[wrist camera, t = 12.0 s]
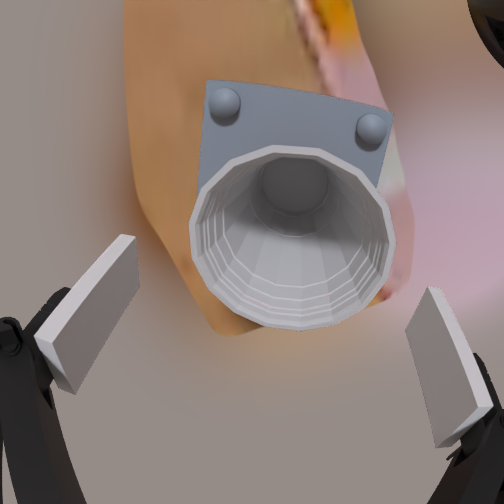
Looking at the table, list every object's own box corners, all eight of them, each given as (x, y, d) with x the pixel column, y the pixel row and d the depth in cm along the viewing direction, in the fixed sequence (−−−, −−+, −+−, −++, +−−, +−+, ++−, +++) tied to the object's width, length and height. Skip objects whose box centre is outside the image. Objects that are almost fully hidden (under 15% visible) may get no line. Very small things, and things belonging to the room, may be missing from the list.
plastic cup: (240, 103, 24) (198, 123, 13) (372, 137, 24) (428, 185, 13) (217, 223, 29) (176, 310, 19) (334, 251, 29) (350, 348, 19)
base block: (378, 107, 27) (397, 114, 22) (344, 245, 34) (352, 275, 29) (220, 79, 27) (204, 80, 22) (207, 221, 35) (192, 248, 30)
